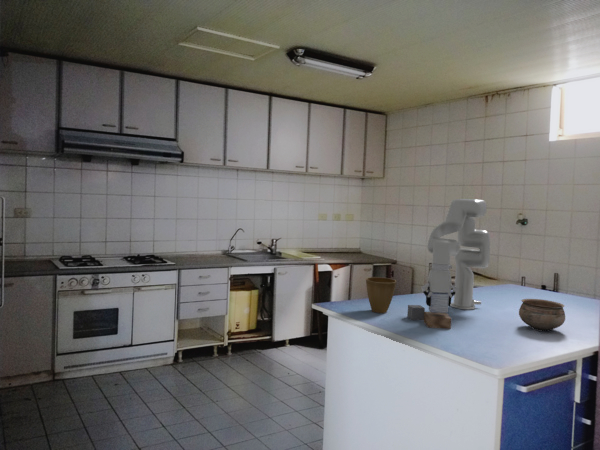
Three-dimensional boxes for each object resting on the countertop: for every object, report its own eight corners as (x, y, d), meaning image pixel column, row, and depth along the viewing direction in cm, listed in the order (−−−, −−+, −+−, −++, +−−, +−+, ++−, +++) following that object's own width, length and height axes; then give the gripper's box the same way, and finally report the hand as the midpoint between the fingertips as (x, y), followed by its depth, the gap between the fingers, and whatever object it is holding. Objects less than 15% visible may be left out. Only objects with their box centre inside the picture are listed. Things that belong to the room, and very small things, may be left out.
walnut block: (445, 323, 222) (446, 313, 222) (450, 329, 212) (451, 318, 212) (423, 322, 223) (424, 311, 222) (427, 328, 213) (428, 316, 212)
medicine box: (445, 310, 219) (447, 292, 218) (447, 313, 215) (449, 294, 214) (428, 309, 220) (429, 291, 219) (429, 312, 215) (431, 293, 215)
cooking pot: (528, 320, 234) (530, 296, 234) (571, 329, 221) (573, 303, 220) (508, 329, 216) (510, 302, 216) (554, 339, 203) (556, 310, 203)
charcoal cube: (419, 317, 231) (420, 305, 230) (423, 320, 225) (424, 308, 225) (407, 317, 230) (408, 304, 230) (411, 320, 224) (412, 307, 224)
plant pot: (358, 308, 243) (360, 277, 242) (384, 307, 248) (386, 276, 247) (373, 315, 229) (375, 282, 228) (400, 314, 234) (402, 282, 234)
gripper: (455, 266, 221) (453, 304, 222) (419, 265, 219) (416, 303, 220) (462, 269, 213) (460, 308, 214) (425, 268, 211) (422, 307, 212)
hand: (438, 305), depth 217 cm, fingers closed on medicine box, 8 cm apart
